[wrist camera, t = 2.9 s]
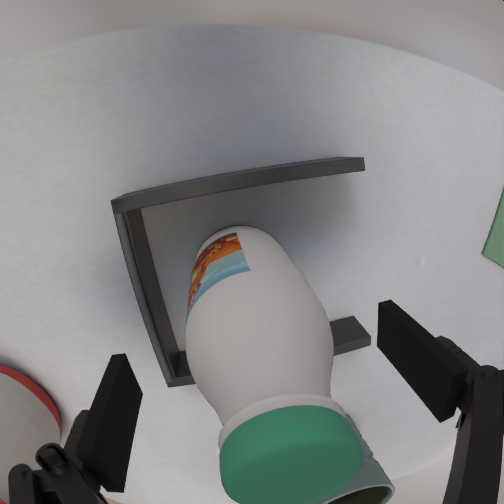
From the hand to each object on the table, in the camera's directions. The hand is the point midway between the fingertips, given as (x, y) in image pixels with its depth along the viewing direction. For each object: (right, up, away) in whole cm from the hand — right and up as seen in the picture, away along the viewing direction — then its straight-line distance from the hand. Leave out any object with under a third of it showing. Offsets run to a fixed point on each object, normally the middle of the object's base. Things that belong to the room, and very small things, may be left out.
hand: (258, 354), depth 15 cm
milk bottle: (-1, +4, +12) cm, 12 cm away
